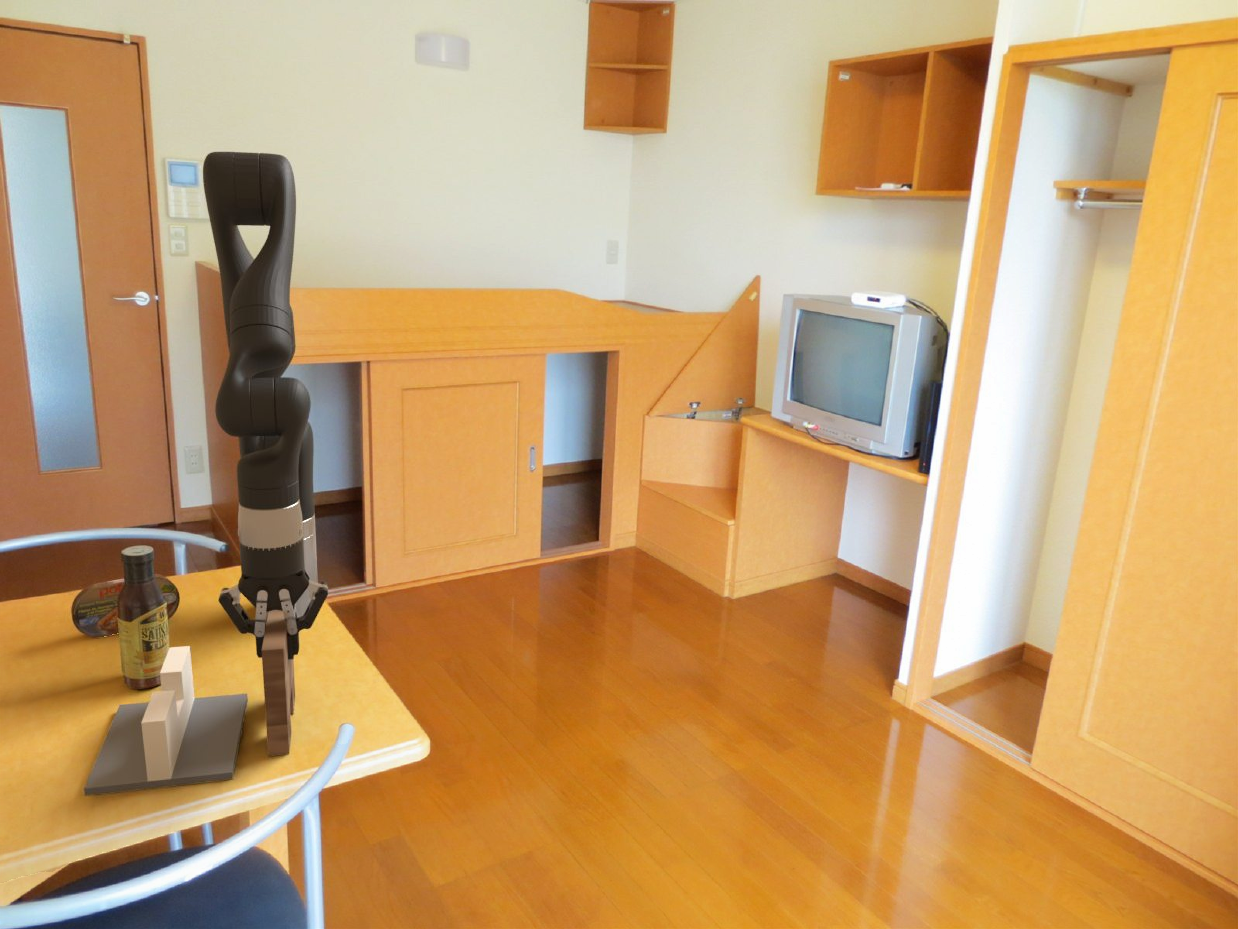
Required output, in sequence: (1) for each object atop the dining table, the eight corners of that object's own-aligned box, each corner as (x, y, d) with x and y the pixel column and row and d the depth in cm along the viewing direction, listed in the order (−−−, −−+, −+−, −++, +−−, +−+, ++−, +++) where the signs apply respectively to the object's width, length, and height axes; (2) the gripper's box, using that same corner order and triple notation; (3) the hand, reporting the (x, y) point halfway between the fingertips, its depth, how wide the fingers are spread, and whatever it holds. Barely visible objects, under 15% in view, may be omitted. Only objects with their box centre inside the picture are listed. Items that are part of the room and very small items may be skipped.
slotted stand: (120, 711, 123) (113, 651, 120) (247, 699, 127) (243, 642, 124) (84, 796, 106) (75, 729, 104) (232, 779, 111) (227, 714, 108)
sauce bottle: (152, 694, 127) (138, 563, 121) (113, 687, 128) (97, 557, 122) (183, 671, 133) (171, 545, 127) (145, 665, 134) (131, 539, 128)
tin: (75, 643, 139) (69, 593, 136) (72, 635, 141) (66, 585, 139) (182, 621, 148) (178, 573, 145) (178, 613, 150) (173, 566, 148)
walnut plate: (276, 697, 128) (270, 600, 124) (295, 695, 129) (290, 599, 124) (268, 756, 115) (261, 650, 111) (289, 754, 116) (283, 648, 112)
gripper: (330, 521, 119) (334, 639, 124) (215, 526, 115) (224, 648, 121) (329, 543, 112) (333, 667, 118) (206, 549, 109) (217, 677, 114)
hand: (278, 657), depth 119 cm, fingers closed on walnut plate, 2 cm apart
